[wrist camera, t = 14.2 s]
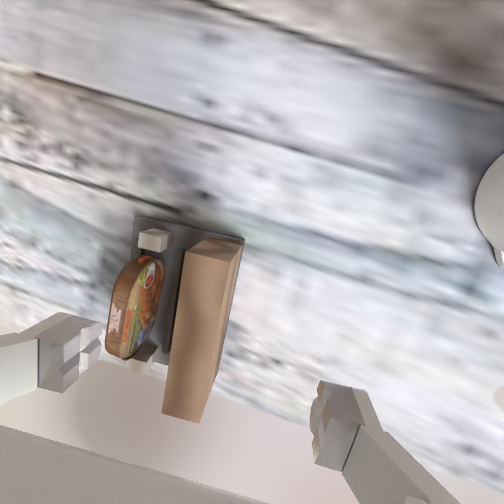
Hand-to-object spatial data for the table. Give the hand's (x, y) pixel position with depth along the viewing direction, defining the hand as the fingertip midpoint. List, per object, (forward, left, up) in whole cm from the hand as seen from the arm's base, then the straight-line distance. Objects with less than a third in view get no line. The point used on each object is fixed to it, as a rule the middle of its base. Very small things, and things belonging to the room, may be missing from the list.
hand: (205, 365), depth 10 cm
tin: (+15, +13, -28) cm, 34 cm away
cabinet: (+10, +13, -29) cm, 33 cm away
